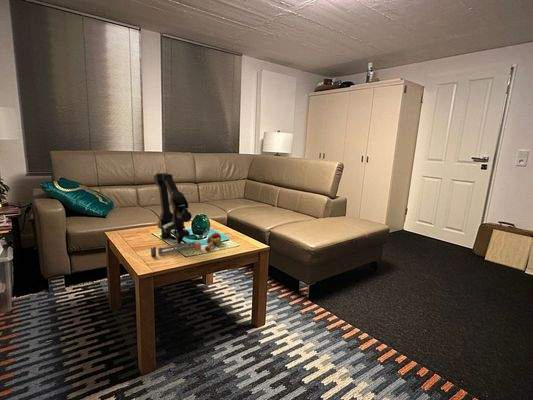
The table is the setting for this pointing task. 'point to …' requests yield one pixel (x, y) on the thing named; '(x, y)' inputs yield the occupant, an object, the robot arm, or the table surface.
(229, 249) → the table surface
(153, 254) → the hinge post
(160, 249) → the grey long rod
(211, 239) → the kendama
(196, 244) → the latch post
